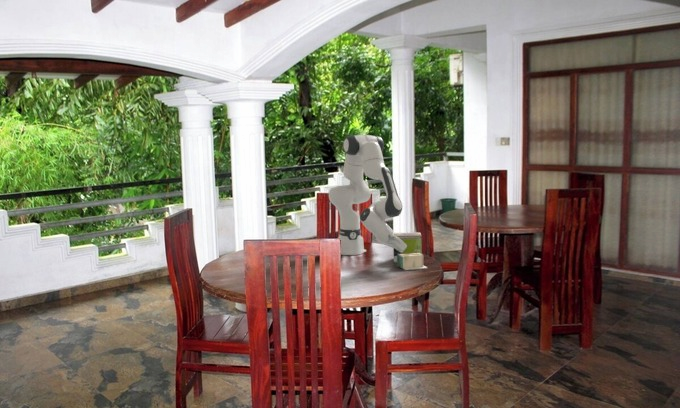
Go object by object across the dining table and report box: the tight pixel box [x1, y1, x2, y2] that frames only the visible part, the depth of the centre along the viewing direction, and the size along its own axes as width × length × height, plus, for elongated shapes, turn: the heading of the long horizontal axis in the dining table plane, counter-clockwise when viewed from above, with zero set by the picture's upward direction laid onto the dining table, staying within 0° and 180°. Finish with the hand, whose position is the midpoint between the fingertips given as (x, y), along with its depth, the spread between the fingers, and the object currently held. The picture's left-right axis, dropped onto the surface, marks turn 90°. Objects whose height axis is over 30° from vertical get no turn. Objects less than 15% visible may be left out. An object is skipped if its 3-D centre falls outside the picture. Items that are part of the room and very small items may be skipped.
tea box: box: [393, 231, 423, 263], centre depth 316 cm, size 15×10×15 cm, turn 84°
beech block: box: [396, 253, 425, 269], centre depth 303 cm, size 6×6×12 cm
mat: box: [402, 264, 428, 271], centre depth 303 cm, size 11×12×1 cm
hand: (401, 251), depth 302 cm, fingers closed
